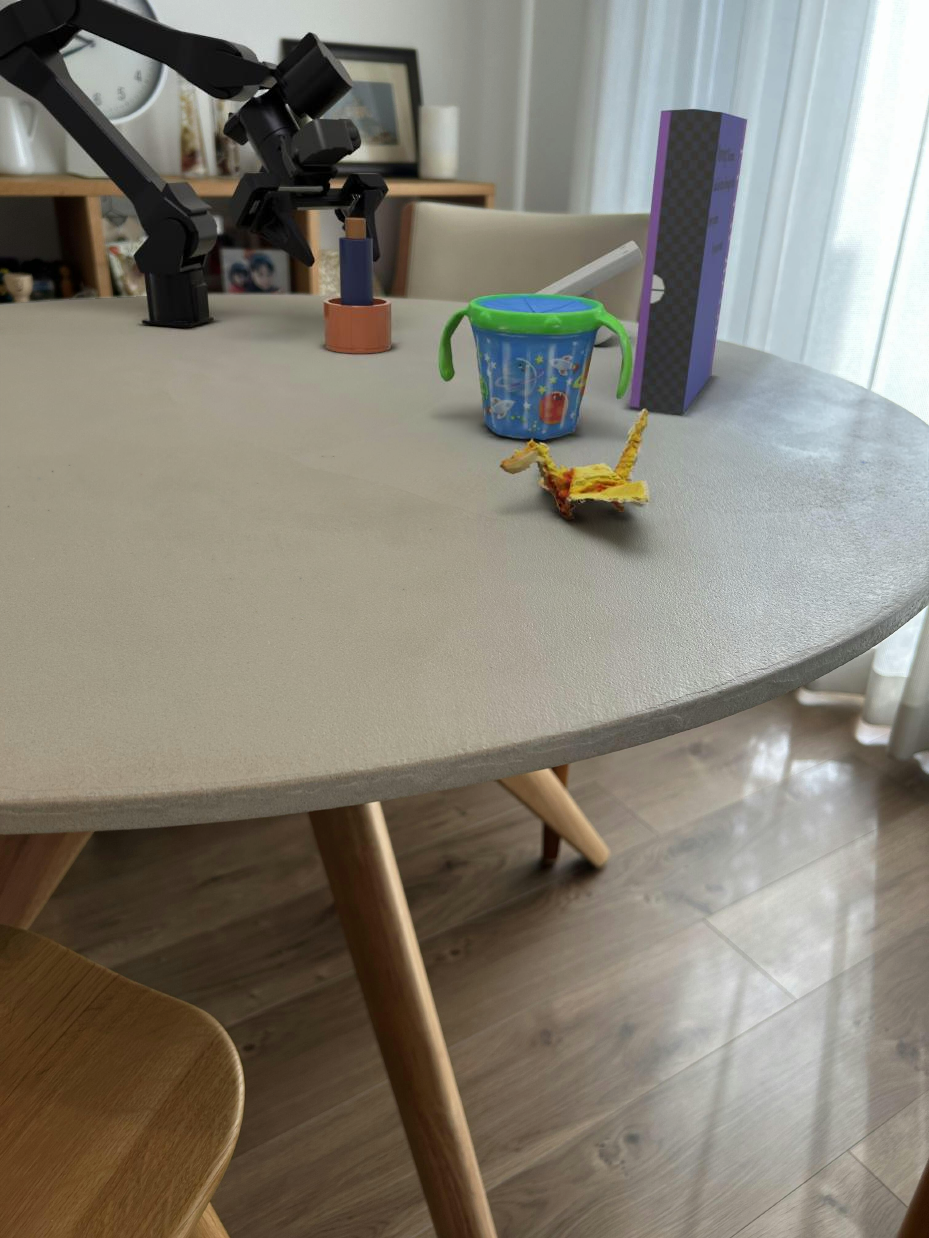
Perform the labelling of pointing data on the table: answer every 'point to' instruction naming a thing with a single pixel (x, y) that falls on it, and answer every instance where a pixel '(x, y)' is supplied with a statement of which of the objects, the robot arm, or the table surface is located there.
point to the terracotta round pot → (357, 326)
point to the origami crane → (587, 474)
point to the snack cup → (534, 359)
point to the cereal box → (686, 256)
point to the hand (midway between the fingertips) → (345, 261)
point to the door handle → (597, 278)
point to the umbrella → (356, 264)
